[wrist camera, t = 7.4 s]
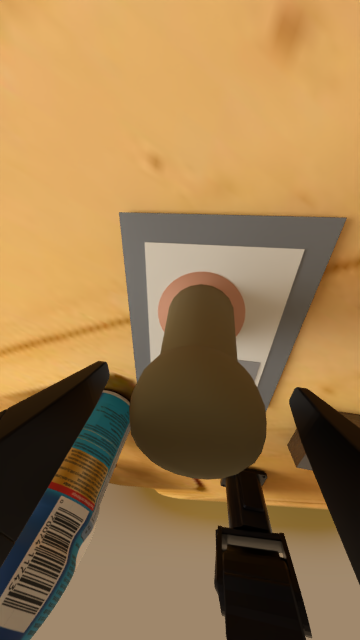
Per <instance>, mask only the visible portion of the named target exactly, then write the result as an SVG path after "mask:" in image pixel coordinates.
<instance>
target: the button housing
mask: <svg viewBox="0 0 360 640" xmlns="http://www.w3.org/2000/svg"><path fill="white" fill-rule="evenodd" d="M339 413H341V414H342V415H343V416H345V417H346V418H347V419H349V420H350V421H351V422H353V423H354V424H355V425H357V426H358V427H359V428H360V415H357V414H350V413H343V412H339ZM287 446H288V448H289V451H290V453H291V456H292V458H293V460H294V463H295V465H296V467H297V468H302V469H307V470H312V467H311V465H310V463H309V460H308V458H307V455H306V453H305V450H304V448H303V445H302V443H301V440H300V437H299V434H298V430H296V431H295V433H294V435H293V436H292V438H291V440H290V442H289V443H288V445H287Z"/></svg>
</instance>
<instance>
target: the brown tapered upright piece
mask: <svg viewBox="0 0 360 640" xmlns="http://www.w3.org/2000/svg"><path fill="white" fill-rule="evenodd" d="M129 419H130V428H131V435H132V437H133V439H134V441H135V443H136V445H137V446H138V447H139V449H140V450H141V451H142V452H143V453H144V454H145V455H146V456H147V457H148V458H149V459H150V460H151V461H152V462H154V463H155V464H157V465H158V466H160V467H162V468H163V469H165V470H168V471H170V472H173V473H175V474H178V475H182V476H186V477H190V478H198V479H219V478H226V477H229V476H233V475H236V474H238V473H240V472H241V471H243V470H244V469H246V468H247V467H249V466H250V465H252V464H253V463H255V461H256V460H257V458H258V457H259V455H260V454H261V452H262V449H263V446H264V442H265V439H266V411H265V405H264V403H263V400H262V397H261V395H260V392H259V390H258V388H257V386H256V384H255V382H254V380H253V378H252V377H251V375H250V374H249V373H248V371H247V370H246V369H245V368H244V367H243V366H242V365H241V364H240V363H239V362H238V359H237V346H236V334H235V321H234V308H233V306H232V303H231V301H230V299H229V298H228V297H227V296H226V295H225V294H224V293H223V292H222V291H221V290H219V289H217V288H215V287H213V286H209V285H203V284H199V285H193V286H189V287H187V288H185V289H183V290H181V291H180V292H179V293H178V294H177V295H176V296H175V297H174V298H173V300H172V302H171V304H170V306H169V311H168V316H167V321H166V326H165V331H164V337H163V342H162V347H161V352H160V355H159V356H158V357H157V358H156V359H154V360H153V361H152V362H151V363H150V364H149V365H148V366H147V367H146V368H145V369H144V370H143V372H142V374H141V376H140V378H139V380H138V382H137V384H136V386H135V388H134V390H133V393H132V396H131V401H130V406H129Z"/></svg>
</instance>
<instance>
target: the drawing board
mask: <svg viewBox="0 0 360 640" xmlns="http://www.w3.org/2000/svg"><path fill="white" fill-rule="evenodd" d="M119 217H120V226H121V235H122V245H123V254H124V264H125V273H126V283H127V292H128V302H129V311H130V321H131V330H132V340H133V349H134V359H135V368H136V378H137V382H138V380H139V378H140V376H141V374H142V372H143V370H144V369H145V368H146V367H147V366H148V365H149V364H150V363H151V362H152V361H153V360H154V359H156V358H157V357H158V356H159V355H160V352H161V347H162V342H163V337H164V331H165V326H166V321H167V316H168V311H169V306H170V304H171V302H172V300H173V298H174V297H175V296H176V295H177V294H178V293H179V292H180V291H181V290H183V289H185V288H187V287H189V286H193V285H199V284H203V285H209V286H213V287H215V288H217V289H219V290H221V291H222V292H223V293H224V294H225V295H226V296H227V297H228V298H229V299H230V301H231V303H232V306H233V308H234V321H235V334H236V346H237V359H238V362H239V363H240V364H241V365H242V366H243V367H244V368H245V369H246V370H247V371H248V373H249V374H250V375H251V377H252V378H253V380H254V382H255V384H256V386H257V388H258V390H259V392H260V395H261V397H262V400H263V403H264V405H265V411H266V410H267V408H268V405H269V403H270V401H271V398H272V396H273V393H274V391H275V389H276V386H277V384H278V381H279V379H280V377H281V374H282V372H283V369H284V367H285V365H286V362H287V360H288V357H289V355H290V353H291V350H292V348H293V345H294V343H295V341H296V338H297V336H298V333H299V331H300V329H301V326H302V324H303V321H304V319H305V317H306V314H307V312H308V309H309V307H310V305H311V302H312V300H313V298H314V295H315V293H316V290H317V288H318V286H319V283H320V281H321V278H322V276H323V274H324V271H325V269H326V266H327V264H328V262H329V259H330V257H331V254H332V252H333V250H334V247H335V245H336V242H337V240H338V238H339V235H340V233H341V230H342V228H343V226H344V223H345V221H346V218H335V217H293V216H250V215H208V214H165V213H122V212H119Z"/></svg>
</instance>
